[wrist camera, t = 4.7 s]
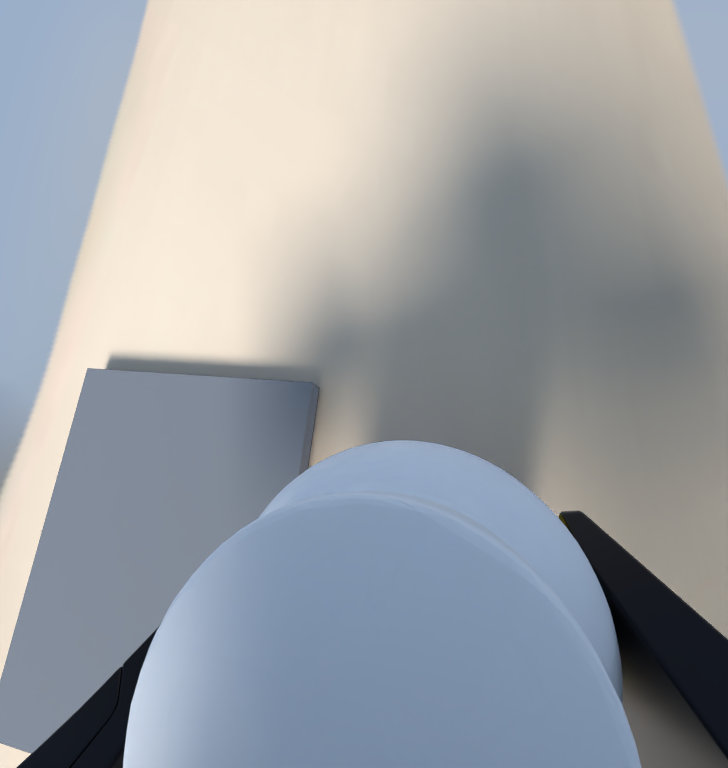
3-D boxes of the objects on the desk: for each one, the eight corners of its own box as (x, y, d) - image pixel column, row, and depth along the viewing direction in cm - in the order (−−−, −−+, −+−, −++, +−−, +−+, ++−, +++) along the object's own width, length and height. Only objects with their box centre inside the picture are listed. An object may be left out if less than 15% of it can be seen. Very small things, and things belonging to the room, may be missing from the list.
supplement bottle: (442, 433, 17) (421, 273, 5) (562, 578, 15) (1137, 1016, 2) (314, 534, 17) (-49, 643, 5) (415, 694, 15) (237, 1717, 2)
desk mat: (260, 804, 15) (247, 825, 14) (9, 724, 18) (-16, 737, 17) (319, 388, 19) (312, 382, 18) (103, 373, 21) (87, 368, 20)
